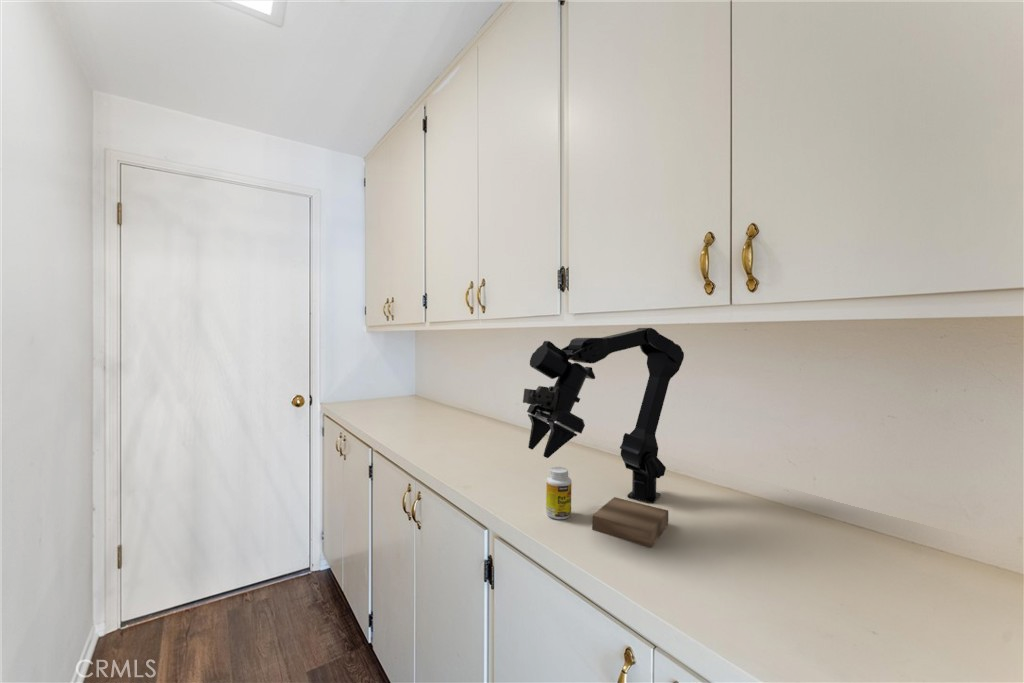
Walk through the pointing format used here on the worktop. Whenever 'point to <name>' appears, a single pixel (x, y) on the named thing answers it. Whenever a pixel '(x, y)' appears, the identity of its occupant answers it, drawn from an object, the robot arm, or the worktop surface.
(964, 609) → the worktop surface
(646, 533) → the walnut plinth
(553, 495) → the supplement bottle
